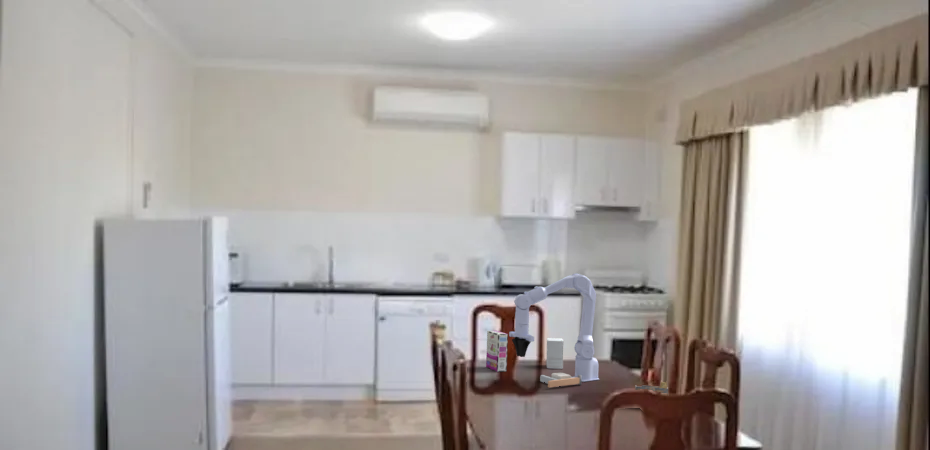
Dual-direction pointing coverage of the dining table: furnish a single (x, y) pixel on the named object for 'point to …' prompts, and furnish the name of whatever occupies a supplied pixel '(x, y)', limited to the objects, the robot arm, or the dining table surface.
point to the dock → (548, 379)
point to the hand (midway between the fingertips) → (520, 356)
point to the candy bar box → (497, 351)
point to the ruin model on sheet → (655, 388)
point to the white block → (560, 376)
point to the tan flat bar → (565, 382)
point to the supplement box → (554, 353)
